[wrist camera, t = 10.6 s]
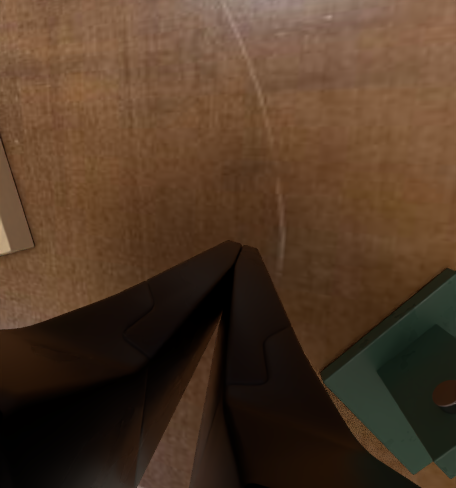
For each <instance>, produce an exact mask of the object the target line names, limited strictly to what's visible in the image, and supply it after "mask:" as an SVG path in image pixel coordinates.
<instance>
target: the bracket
mask: <svg viewBox="0 0 456 488" xmlns="http://www.w3.org/2000/svg"><path fill="white" fill-rule="evenodd" d="M320 374H321V377H322V380H323V383H324V384H325V385H326V386H327V387H328V388H329V389H330V390H331V391H332V392H333V393H334V394H335V395H336V396H337V397H338V398H339V399H340V400H341V401H342V402H343V403H344V404H345V405H346V406H347V407H348V409H349V410H350V411H351V412H352V413H353V414H354V415H355V416H356V417H357V418H358V419H359V420H360V421H361V422H362V423H363V424H364V425H365V426H366V427H367V428H368V429H369V430H370V431H371V432H372V433H373V434H374V435H375V436H376V437H377V438H378V439H379V440H380V441H381V442H382V443H383V444H384V445H385V446H386V448H387V449H388V450H389V451H390V452H391V453H392V454H393V455H394V456H395V457H396V458H397V459H398V460H399V461H400V462H401V463H402V464H403V465H404V466H405V467H406V468H407V469H408V470H409V471H410V472H411V473H412V474H413V475H414V474H416V473H417V472H419V471H420V470H422V469H423V468H424V467H426V466H427V465H429V464H430V463H431V462H434V463H435V464H436V465H437V466H438V467H439V468H440V469H441V470H442V471H443V472H444V473H445V474H446V475H447V476H448V477H449V478H450V479H452V478H454V477H455V476H456V271H454V270H451V269H449V268H447V269H445V270H444V271H443V272H442V273H441V274H439V275H438V276H437V277H436V278H435V279H433V280H432V281H431V282H430V283H429V284H427V285H426V286H425V287H424V288H422V289H421V290H420V291H419V292H418V293H416V294H415V295H414V296H413V297H412V298H410V299H409V300H408V301H407V302H405V303H404V304H403V305H402V306H401V307H399V308H398V309H397V310H396V311H395V312H393V313H392V314H391V315H390V316H388V317H387V318H386V319H385V320H384V321H382V322H381V323H380V324H379V325H378V326H376V327H375V328H374V329H373V330H372V331H370V332H369V333H368V334H367V335H365V336H364V337H363V338H362V339H361V340H359V341H358V342H357V343H356V344H355V345H353V346H352V347H351V348H350V349H348V350H347V351H346V352H345V353H344V354H342V355H341V356H340V357H339V358H338V359H336V360H335V361H334V362H333V363H331V364H330V365H329V366H328V367H327V368H325V369H324V370H323V371H322V372H321V373H320Z"/></svg>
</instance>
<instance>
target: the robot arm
mask: <svg viewBox="0 0 456 488" xmlns="http://www.w3.org/2000/svg"><path fill="white" fill-rule="evenodd" d="M221 314H222V315H221ZM220 317H221V318H220ZM219 320H220V322H219ZM218 322H219V327H218V332H217V338H216V343H215V349H214V354H213V359H212V365H211V370H210V376H209V381H208V387H207V392H206V398H205V403H204V409H203V414H202V419H201V425H200V430H199V436H198V441H197V447H196V452H195V458H194V463H193V469H192V474H191V479H190V485H189V488H421V487H419V486H418V485H416V484H415V483H413V482H412V481H410V480H409V479H407V478H406V477H404V476H402V475H401V474H399V473H398V472H396V471H395V470H393V469H392V468H390V467H389V466H387V465H385V464H384V463H382V462H381V461H379V460H378V459H376V458H375V457H374V456H372V455H371V454H370V453H369V452H368V451H367V450H366V449H365V448H364V447H363V446H362V445H361V444H360V443H359V442H358V440H357V439H356V438H355V437H354V435H353V434H352V432H351V431H350V429H349V428H348V426H347V425H346V423H345V421H344V420H343V418H342V417H341V415H340V413H339V412H338V410H337V408H336V407H335V405H334V403H333V402H332V400H331V398H330V397H329V395H328V393H327V392H326V390H325V388H324V387H323V385H322V383H321V382H320V380H319V378H318V377H317V375H316V373H315V371H314V370H313V368H312V366H311V364H310V363H309V361H308V359H307V357H306V355H305V354H304V352H303V349H302V347H301V345H300V343H299V341H298V339H297V337H296V335H295V332H294V330H293V328H292V327H291V323H290V321H289V319H288V317H287V314H286V312H285V310H284V308H283V305H282V303H281V301H280V298H279V296H278V294H277V292H276V289H275V287H274V285H273V282H272V280H271V278H270V276H269V273H268V271H267V269H266V267H265V264H264V262H263V260H262V257H261V255H260V253H259V251H258V249H257V248H254V247H251V246H247V245H243V246H242V245H241V244H240V243H237V242H234V241H230V240H227V241H225V242H223V243H221V244H219V245H217V246H215V247H213V248H211V249H209V250H207V251H205V252H203V253H201V254H199V255H197V256H195V257H192V258H190V259H188V260H186V261H184V262H182V263H180V264H178V265H176V266H174V267H172V268H170V269H168V270H166V271H164V272H162V273H160V274H158V275H156V276H154V277H152V278H150V279H148V280H147V281H143V282H141V283H139V284H137V285H135V286H133V287H131V288H129V289H127V290H124V291H122V292H120V293H118V294H115V295H113V296H110V297H108V298H105V299H103V300H100V301H98V302H95V303H92V304H90V305H87V306H84V307H82V308H79V309H76V310H73V311H71V312H68V313H65V314H62V315H60V316H57V317H54V318H52V319H49V320H46V321H43V322H41V323H38V324H34V325H31V326H27V327H23V328H17V329H2V330H0V488H137V486H138V484H139V482H140V480H141V478H142V476H143V474H144V472H145V470H146V468H147V466H148V464H149V462H150V460H151V458H152V456H153V454H154V452H155V450H156V448H157V446H158V444H159V442H160V440H161V438H162V436H163V434H164V432H165V430H166V428H167V426H168V424H169V422H170V420H171V417H172V415H173V413H174V411H175V409H176V407H177V405H178V403H179V401H180V399H181V397H182V395H183V393H184V391H185V389H186V387H187V385H188V383H189V381H190V379H191V377H192V375H193V373H194V371H195V369H196V367H197V365H198V363H199V361H200V359H201V357H202V355H203V353H204V351H205V349H206V347H207V345H208V343H209V341H210V339H211V337H212V335H213V333H214V331H215V329H216V326H217V324H218Z"/></svg>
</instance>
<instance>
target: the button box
mask: <svg viewBox="0 0 456 488" xmlns="http://www.w3.org/2000/svg"><path fill="white" fill-rule="evenodd" d="M32 247H34V243H33V240H32V237H31V234H30V231H29V227H28V224H27V221H26V218H25V215H24V212H23V208H22V205H21V202H20V199H19V196H18V193H17V189H16V186H15V183H14V180H13V177H12V174H11V170H10V167H9V164H8V161H7V158H6V155H5V151H4V148H3V145H2V142H1V139H0V256H2V255H6V254H10V253H14V252H17V251H21V250H25V249H29V248H32Z"/></svg>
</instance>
